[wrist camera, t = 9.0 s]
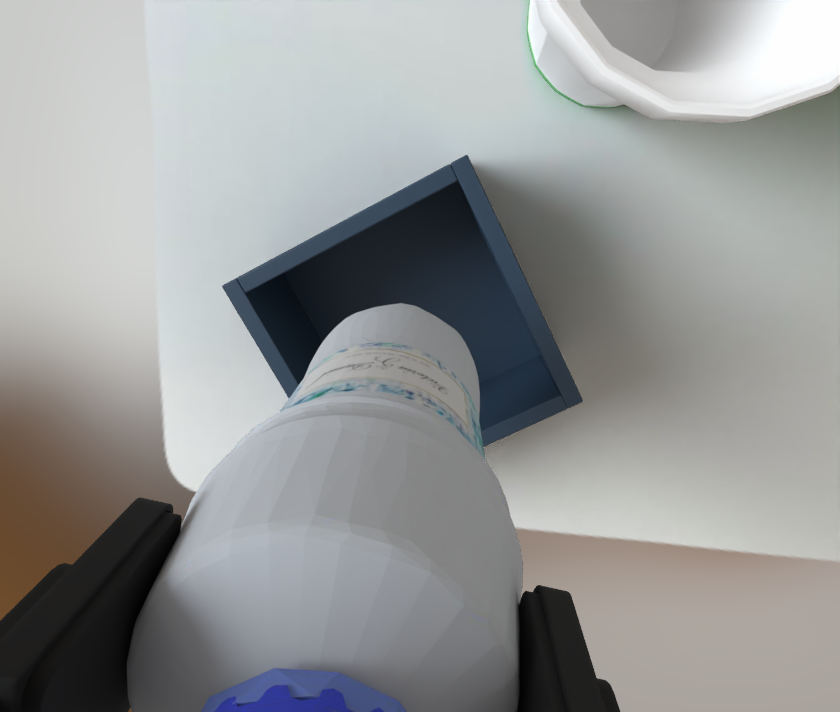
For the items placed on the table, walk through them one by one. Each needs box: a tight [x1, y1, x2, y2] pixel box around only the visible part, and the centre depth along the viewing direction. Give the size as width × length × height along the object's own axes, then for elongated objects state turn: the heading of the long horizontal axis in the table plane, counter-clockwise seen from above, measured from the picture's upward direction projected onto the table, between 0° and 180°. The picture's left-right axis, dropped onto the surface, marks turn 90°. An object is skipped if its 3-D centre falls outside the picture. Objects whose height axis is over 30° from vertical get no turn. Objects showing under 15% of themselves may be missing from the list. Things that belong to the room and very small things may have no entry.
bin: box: [222, 155, 583, 447], centre depth 32 cm, size 13×13×8 cm
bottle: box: [127, 303, 523, 712], centre depth 15 cm, size 7×7×20 cm
